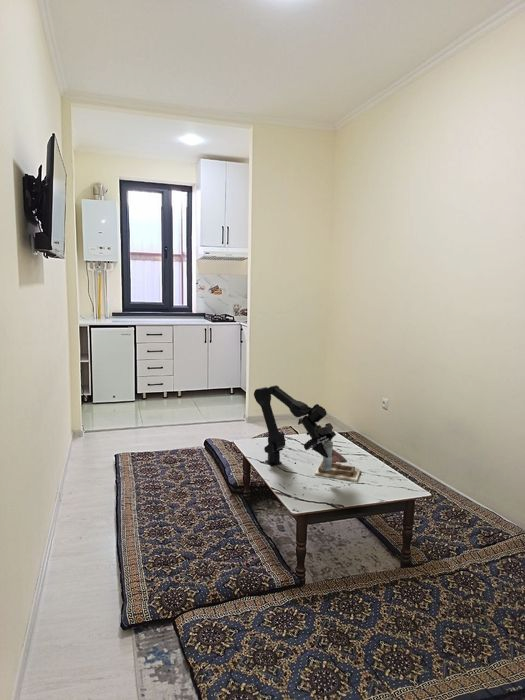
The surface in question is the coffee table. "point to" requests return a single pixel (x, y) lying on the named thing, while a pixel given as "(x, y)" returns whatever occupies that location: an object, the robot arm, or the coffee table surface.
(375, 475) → the coffee table surface
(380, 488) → the coffee table surface
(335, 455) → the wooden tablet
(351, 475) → the keyhole board
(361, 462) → the coffee table surface
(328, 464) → the slate peg
